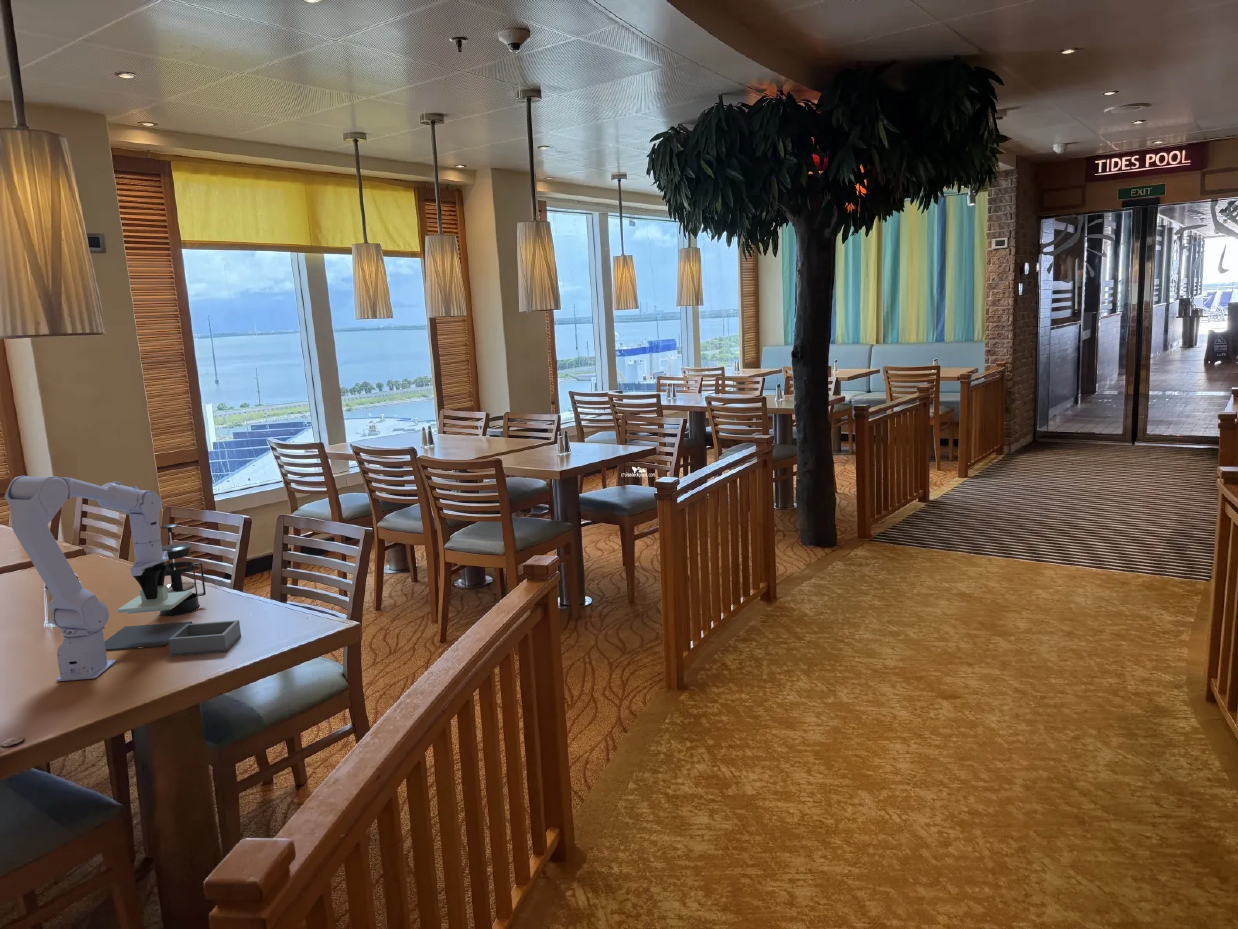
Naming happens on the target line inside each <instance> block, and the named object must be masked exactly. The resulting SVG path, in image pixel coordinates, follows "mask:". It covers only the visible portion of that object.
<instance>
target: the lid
mask: <svg viewBox="0 0 1238 929" xmlns="http://www.w3.org/2000/svg"><path fill="white" fill-rule="evenodd" d="M166 585H167V584H165V585H163V586H157V590H158V593H157V598H156V599H150V600H147V599H146V597H145V595H144V592H143V590H142V588H141V589H140V590H139V592H140V593H139V594H140V595H137V596H136V597H134V598H133V599H131V600H130V601H128V602H127V603H125V604H124V605H122V606H120V607H119V608H118V609H116V612H117V614H121V613H127V614H128V615H129V614H139V613H140V614H141V613H148V612H149V613H151V612H160V611H162V610H171V609H172V608H174V607H175V606H176V605H178V604H179V603H180V602H182V601H183V600H184V599H186V598H187V597H188V596H190V595H191V594H192V593H193V592H192V590H187V591H183V592H172V593H168V592H167V586H166Z"/></svg>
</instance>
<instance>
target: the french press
mask: <svg viewBox="0 0 1238 929" xmlns="http://www.w3.org/2000/svg"><path fill="white" fill-rule="evenodd" d="M176 527H179V524H178V523H169V524H163V525H161V526H159V529H167V533H168V534H169V540H170V544H166V545H162V551H167V553H168V558H169V560H170V561H171V560H172V562H168V563H169V567H168V569H169V570H167V572H166V575H165V577H169V576H170V583H169V584H165V585H166V586H167V592H168V593H172V592H183V591H191V590H192V589H195V592H192V594H191V595H190V596H188V597H187V598H186V599H184V600H183V601H182V602H180V603H179V604H178V605H176V606H175V607H174V608H172V609H171V610H162V611H159V614H160V615H161V616H163V615H164V617H176V616H175V615H177V616H182V615H181V614H183V615H186V614H185V613H187V614H190V612H191V613H193V612H195V611H194V610H196V609H198V608H199V607H201V605H200V603H199V597H202V596H206V594H207V593H206V592H207V591H206V585H205V578H204V577H205V576H204V570H203V569H204V568H203V563H202V561H197V562H193V561H190V560H189V561H188V560H187V561H186V560H184V561H175V560H177V559H181V558H185V557H188V556H190V554H191V548H192V544H190V543H174V544H173V539H172V537H173V536H172V532H173V528H176ZM169 560H168V561H169ZM195 566H199V568H200V574H201V575H200V576H201V583H202V591H203V592H200V593H198V588H197V581H196V580H197V579H196V572H195V571H196V570H195ZM178 567H179V568H178ZM180 567H183V568H180ZM189 572H192V573H193V581H194V582H192V581H191V582H190V581H183V578H182V574H185V573H189ZM199 609H200V608H199ZM199 609H198V610H199ZM192 611H193V612H192ZM196 611H197V610H196Z"/></svg>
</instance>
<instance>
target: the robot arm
mask: <svg viewBox="0 0 1238 929" xmlns="http://www.w3.org/2000/svg"><path fill="white" fill-rule="evenodd" d="M3 497H4V499H5V501H6V503H7V504H8V505H9V506H8V507H9V508H10V509H9V510H10V511H9V512H10V522H11V528H12V531H13V533H14V535H15V536H16V538H17V540H18V541H19V543H20V544H21V546H22V548H23V549H24V551H25V553H26V555H27V556H28V558H29V559H30V561H31V563H32V564H33V566H34V568H35V569H36V571H37V573H38V574H39V576H40V578H41V579H42V581H43V583H44V584H45V586H46V588H47V590H48V592H49V593H50V594H51V596H52V598H51V600H50V602H49V603H48V607H49V609H50V611H51V620H52V623H53V624H54V625H55V627H57V628H58V629H60V633H61V634H62V635H63V636H62V637H63V640H62V642H61V644H60V645H59V646H58V648H57V652H56V657H57V665H58V669H59V675H60V676H58V677H57V678H56V680H55V681H56V682H65V681H77V680H78V681H79V680H90V679H92V680H93V679H97V678H98V677H99V676H101V674H103V673H104V672H105V671H106V670H108V669H109V668H110V667H111V666H113V665H114V664H115V663H116V662H117V660H116V659H109V660H108V656H107V651H106V648H105V641H106V640H105V636H104V635H105V634H104V629H105V626H106V625H107V623H108V620H109V617H110V610H109V608H108V606H107V605H106V604H105V603H104V602H102V601H100V600H99V599H98V597H97V596H96V594H95V593H93V592H91V591H90V590H89V589H87V588H85V587H83V585H82V583H81V582H80V580H79V578H78V577H77V575H76V573H75V572H74V570H73V568H72V566H71V564H70V562H69V560H68V559H67V557H66V555H65V554H64V552H63V550H62V548H61V547H60V545H59V544H58V542H57V540H56V539H55V537H54V534H53V533H52V532H51V530H50V528H49V523H51V521H52V520H53V519H54V517H55V516H56V515H57V514H58V512H59V511H60V510H61V508H62V507H63V506H64V504H65V502H66V501H67V500H71V499H73V498H80V499H87V500H93V501H96V502H97V504H98V506H100V507H101V508H103V509H107V510H113V511H118V512H123V513H124V514H125V515H128V516H129V517H128V518H129V526H130V531H131V538H132V546H133V552H134V563H133V565H132V566H131V567H130V575H131V577H133V578H134V579H135V581H137V583H138V584H139V586H140V588H141V589H142V590H143V592H144V595H145V597H146V599H147V600H150V599H156V598H157V593H158V590H157V586H163V585H164V584H165V578H166V576H165V575H166V572H167V571H168V569H169V568H168V567H169V563H170V562H167V561H169V558H168V553H167V551H162V546H163V545H162V539H161V530H160V524H159V520H160V518H161V517H160V516H161V515H160V511H161V510H162V507H163V499H161V497H160V496H159V494H158V493H157V492H155V491H153V490H149V489H147V490H143V489H142V490H141V489H140V488H139V487H138V486H136V485H135V486H134V485H132V486H131V485H130V486H127V485H123V484H122V481H117V480H116V481H115V480H114V481H113V480H112V481H111V482H106V483H104V484H103V485H98V484H95V483H92V482H87V481H84V480H80V479H76V478H72V477H66V476H65V477H63V476H62V477H61V476H56V475H51V476H28V475H19V476H17V477H15V478H13V479H12V480H11V481H10V483H9V485H8V487H7V489H6V492H5V493H4V496H3Z"/></svg>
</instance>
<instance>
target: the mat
mask: <svg viewBox="0 0 1238 929" xmlns="http://www.w3.org/2000/svg"><path fill="white" fill-rule="evenodd" d="M191 623H192V624H193V621H182V622H181V621H180V622H167V623H165V622H164V623H154V624H153V623H152V624H141V625H139V624H138V625H128V626H127V625H126V626H124V627H122V628H121V629H120V630H118V631H116V633H114V634H113V635H111V636H110V637H109V638H107V639H106V640H104V641H105V648H106V650H111V651H121V650H120V649H124V650H131V649H130V648H137V649H139V648H138V647H150V648H158V647H159V648H161V647H160V646H163V647H166V646H168V645H169V644H168V643H169V638H171V637H172V636H173V635H174V634H175V633H176V632H178V631H179V630H180V629H181V628H182V627H183V626H185V625H186V624H191Z"/></svg>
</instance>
